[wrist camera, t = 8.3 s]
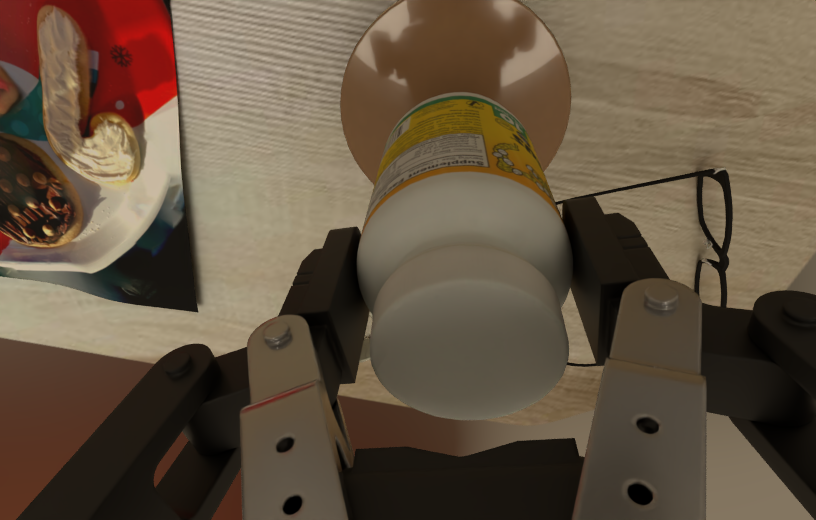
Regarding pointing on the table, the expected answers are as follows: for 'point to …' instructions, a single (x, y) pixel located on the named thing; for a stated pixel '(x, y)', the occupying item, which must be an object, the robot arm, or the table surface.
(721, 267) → the eyeglasses
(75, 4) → the cookie print placemat
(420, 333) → the supplement bottle
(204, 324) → the table surface
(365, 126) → the jar
